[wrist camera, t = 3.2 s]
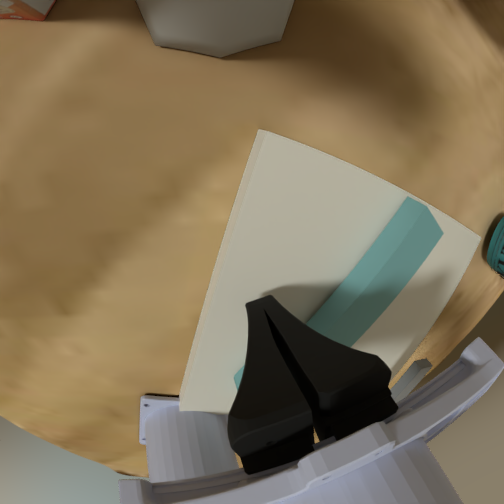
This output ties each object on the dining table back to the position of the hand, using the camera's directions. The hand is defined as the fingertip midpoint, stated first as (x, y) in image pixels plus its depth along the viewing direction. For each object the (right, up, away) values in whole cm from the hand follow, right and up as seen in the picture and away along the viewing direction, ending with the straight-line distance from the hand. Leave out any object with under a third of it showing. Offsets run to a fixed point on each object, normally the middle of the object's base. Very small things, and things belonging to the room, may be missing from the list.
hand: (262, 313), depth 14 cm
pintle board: (+7, -2, +6) cm, 9 cm away
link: (+4, -1, +3) cm, 5 cm away
